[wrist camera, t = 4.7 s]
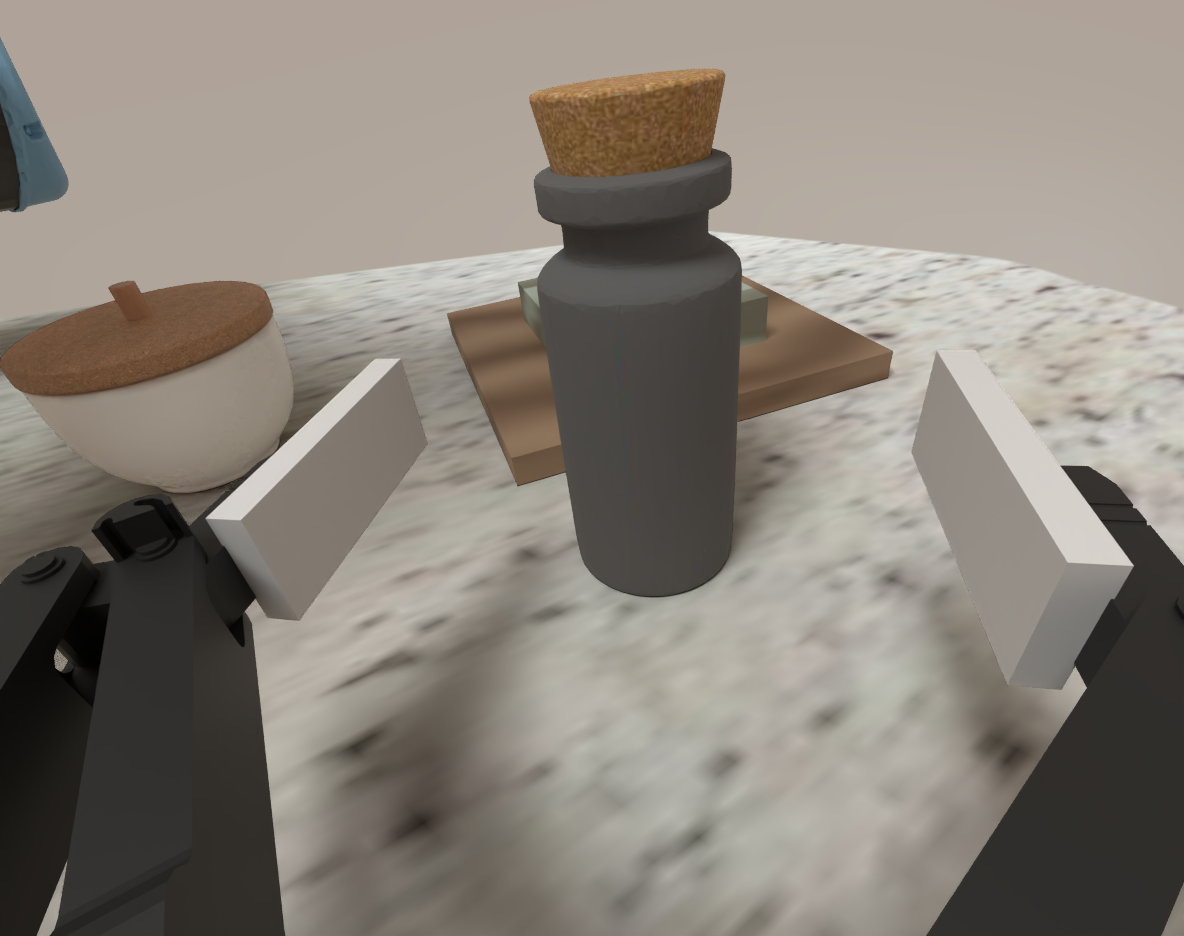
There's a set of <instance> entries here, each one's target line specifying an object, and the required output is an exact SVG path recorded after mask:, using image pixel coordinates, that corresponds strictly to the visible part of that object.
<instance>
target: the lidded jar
mask: <svg viewBox="0 0 1184 936" xmlns="http://www.w3.org/2000/svg"><path fill="white" fill-rule="evenodd" d="M109 290H110V292H111V293H112V295H113V297H114V299H115V301H112V302H108V303H105V304H102V305H99V306H95V307H92V308H89V309H86V310H84V311H81V312H78V313H76V314H73V315H70V316H68V317H65V318H63V319H60V320H58V321H55V322H53V323H51V324H49V325H47V326H45V327H43V328H41V329H39V330H37V331H35V332H33V333H31V334H29V335H27V336H26V337H24V338H23V339H21V340H20V341H18V342H17V343H15V344H14V345H13V346H12V347H10V348H9V349H8V350H7V351H6V352H5V353H4V355H3V356H2V358H1V361H0V368H1V370H2V371H3V373H4V374H5V376H6V377H7V378H8V380H9V381H10V382H11V383H12V385H13V386H14V387H15V388H16V389H18V390H20V391H21V392H23V394H24V395H25V396H26V398H27V399H28V400H29V402H30V403H31V405H32V406H33V407H34V409H35V410H36V411H37V412H38V414H39V415H40V416H41V417H42V419H43V420H44V421H45V422H46V423H47V425H48V426H49V427H50V428H51V429H52V430H53V431H54V432H55V433H56V434H57V435H58V436H59V437H60V438H61V439H62V440H63V441H64V442H65V443H66V444H67V445H68V446H69V447H70V448H72V449H73V450H74V451H75V452H76V453H78V454H79V455H80V456H81V457H83V458H84V459H85V460H87V461H88V462H90V463H92V464H93V465H95V466H97V467H98V468H100V469H102V470H103V471H105V472H107V473H109V474H112V475H114V476H117V477H119V478H122V479H125V480H128V481H132V482H136V483H140V484H145V485H152V486H158V487H159V488H160V489H162V490H163V491H166V492H170V493H193V492H199V491H205V490H208V489H212V488H216V487H219V486H222V485H225V484H227V483H230V482H232V481H235V480H237V479H239V478H241V477H243V476H244V475H245V474H246V473H247V472H248V471H249V470H250V469H251V468H252V467H253V466H254V465H256V464H257V463H258V462H260V461H261V460H263V459H265V458H266V457H268V456H270V455H272V454H273V453H275V452H276V451H277V449H278V447H279V445H280V435H281V434H282V432H283V430H284V428H285V426H286V424H287V422H288V419H289V417H290V415H291V410H292V405H293V399H294V381H293V375H292V368H291V364H290V361H289V357H288V353H287V350H286V346H285V343H284V341H283V338H282V335H281V333H280V330H279V327H278V325H277V323H276V321H275V318H274V316H273V309H272V305H271V303H270V300H269V298H268V295H267V293H266V291H264V290H263V289H262V288H261V287H260V286H258V285H255V284H251V283H247V282H237V281H214V282H203V283H193V284H187V285H181V286H175V287H169V288H164V289H158V290H154V291H150V292H146V293H141V292H140V290H139V288H138V286H137V285H136V283H135V281H126V282H121V283H117V284H114V285H112V286H110V287H109Z"/></svg>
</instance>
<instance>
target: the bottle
mask: <svg viewBox="0 0 1184 936" xmlns="http://www.w3.org/2000/svg"><path fill="white" fill-rule="evenodd" d="M724 81H725V73H724V72H723V71H722V70H717V69H693V70H691V69H690V70H678V71H666V72H655V73H647V74H639V75H630V76H622V77H613V78H605V79H598V80H592V81H586V82H580V83H573V84H568V85H562V86H557V87H552V88H548V89H544V90H539V91H537V92H535V93H533V94H531V95H530V97H529V98H530V104H531V107H532V110H533V114H534V117H535V120H536V123H537V126H538V129H539V132H540V135H541V138H542V141H543V144H544V148H545V151H546V154H547V157H548V160H549V163H550V167H548V168H546V169H544V170H542V171H541V172H540V173H539V174H537V175H536V176H535V179H534V188H535V194H536V200H537V206H538V212H539V213H540V215H541V216H542V218H544V219H546V220H547V221H549V222H552V223H555V224H559V225H561V227H562V232H563V242H564V248H563V249H562V250H560V251H559V252H558V253H557V254H555V255H554V256H553V257H552V258H551V259H550V260H549V261H548V262H547V263H546V264H545V266H544V267H543V269H542V270H541V272H540V274H539V276H538V279H537V292H538V299H539V306H540V314H541V320H542V326H543V333H544V339H545V345H546V352H547V358H548V364H549V371H550V377H551V383H552V390H553V396H554V402H555V408H556V415H557V421H558V427H559V434H560V440H561V446H562V452H563V458H564V463H565V469H566V475H567V481H568V487H569V493H570V499H571V505H572V511H573V517H574V523H575V529H576V535H577V540H578V544H579V549H580V553H581V556H582V559H583V561H584V564H585V565H586V567H587V568H588V570H589V571H590V572H591V573H592V574H593V575H594V576H595V577H596V578H597V579H598V580H600V581H602V582H603V583H605V584H606V585H608V586H609V587H612V588H614V589H617V590H619V591H622V592H626V593H630V594H634V595H639V596H667V595H673V594H678V593H681V592H684V591H688V590H691V589H693V588H695V587H697V586H699V585H701V584H703V583H705V582H706V581H707V580H709V579H710V578H711V577H713V576H714V575H715V574H716V573H717V572H718V571H719V570H720V569H721V568H722V566H723V565H724V563H725V562H726V560H727V557H728V555H729V551H730V547H731V538H732V526H733V506H734V485H735V461H736V436H737V410H738V384H739V358H740V333H741V292H742V268H741V261H740V258H739V257H738V255H737V254H736V252H735V251H734V250H733V249H732V248H731V247H730V246H729V245H727V244H726V243H724V242H723V241H722V240H720V239H718V238H716V237H715V236H712V235H710V234H709V233H708V213H709V209H712V208H714V207H716V206H718V205H720V204H721V203H722V202H724V201H725V200H726V199H727V198H728V196H729V195H730V190H731V178H732V177H731V175H732V167H731V157H730V156H729V155H728V154H727V153H725V152H722V151H719V150H716V149H713V148H712V144H713V139H714V134H715V128H716V123H717V117H718V113H719V107H720V102H721V97H722V91H723V86H724Z"/></svg>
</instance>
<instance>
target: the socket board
mask: <svg viewBox="0 0 1184 936" xmlns="http://www.w3.org/2000/svg"><path fill="white" fill-rule="evenodd" d="M537 279H538V278H535V279H531V280H526V281H521V282H518V286H519V292H520V297H519V298H514V299H510V300H505V301H501V302H496V303H492V304H487V305H483V306H478V307H474V308H469V309H465V310H460V311H456V312H451V313H447V316H448V319H449V323H450V327H451V331H452V335H453V337H454V339H455V341H456V344H457V346H458V348H459V351H460V353H461V355H462V358H463V360H464V362H465V365H466V367H467V369H468V372H469V374H470V376H471V379H472V381H473V383H474V386H475V388H476V390H477V393H478V395H479V397H480V400H481V402H482V404H483V406H484V409H485V411H486V413H487V416H488V418H489V420H490V423H491V425H492V427H493V430H494V432H495V434H496V437H497V439H498V441H499V444H500V446H501V448H502V451H503V453H504V455H505V458H506V460H507V462H508V465H509V467H510V469H511V471H512V474H513V476H514V478H515V481H516V483H517V485H521V484H525V483H528V482H532V481H535V480H539V479H542V478H545V477H549V476H552V475H556V474H559V473H563V472H566V469H565V463H564V458H563V452H562V446H561V440H560V434H559V427H558V421H557V415H556V408H555V402H554V396H553V390H552V383H551V377H550V371H549V364H548V358H547V352H546V345H545V339H544V333H543V326H542V320H541V314H540V306H539V299H538V292H537ZM892 354H893V351H892V350H890V349H888V348H886V347H884V346H882V345H880V344H878V343H876V342H874V341H872V340H870V339H868V338H866V337H864V336H862V335H860V334H858V333H856V332H854V331H852V330H850V329H848V328H846V327H844V326H842V325H840V324H838V323H836V322H834V321H832V320H830V319H828V318H826V317H824V316H822V315H820V314H818V313H816V312H814V311H812V310H810V309H808V308H806V307H804V306H802V305H800V304H798V303H796V302H794V301H792V300H790V299H788V298H786V297H784V296H782V295H780V294H778V293H776V292H774V291H772V290H770V289H768V288H766V287H764V286H762V285H760V284H758V283H756V282H754V281H752V280H750V279H748V278H746V277H744V276H742V292H741V333H740V358H739V384H738V410H737V422H738V421H741V420H744V419H748V418H751V417H755V416H758V415H762V414H765V413H768V412H772V411H775V410H779V409H782V408H786V407H789V406H792V405H796V404H799V403H803V402H806V401H810V400H813V399H817V398H820V397H823V396H827V395H830V394H834V393H837V392H841V391H844V390H847V389H851V388H854V387H858V386H861V385H865V384H868V383H871V382H875V381H878V380H882V379H885V378H888V374H889V369H890V364H891V359H892Z"/></svg>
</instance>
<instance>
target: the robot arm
mask: <svg viewBox="0 0 1184 936" xmlns="http://www.w3.org/2000/svg"><path fill="white" fill-rule="evenodd" d="M67 189H68V178H67V175H66V173H65V170H64V168H63V166H62V164H61V162H60V160H59V158H58V156H57V154H56V152H55V150H54V148H53V146H52V144H51V142H50V140H49V138H48V136H47V134H46V132H45V129H44V127H43V125H42V123H41V121H40V119H39V117H38V115H37V113H36V111H35V109H34V107H33V104H32V102H31V100H30V98H29V96H28V94H27V92H26V90H25V88H24V86H23V84H22V81H21V79H20V77H19V76H18V73H17V71H16V69H15V67H14V65H13V63H12V61H11V59H10V57H9V55H8V53H7V51H6V48H5V46H4V44H3V42H2V40H1V38H0V212H2V211H7V210H9V211H11V212H21V211H24V210H25V209H26V208H27V207H28V206H32V205H36V204H40V203H45V202H50V201H54V200H57V199H59V198H61V197H62V196H63V195H64V194H65V193H66V191H67ZM427 444H428V443H427V440H426V437H425V434H424V431H423V428H422V424H421V421H420V418H419V415H418V412H417V409H416V406H415V402H414V399H413V396H412V393H411V390H410V387H409V383H408V380H407V377H406V374H405V371H404V368H403V365H402V361H401V359H374V360H373V361H372V362H371V363H370V364H369V365H368V366H367V367H366V368H365V369H364V370H363V371H362V372H361V373H360V374H358V375H357V376H356V377H355V378H354V379H353V380H352V381H351V382H350V383H349V384H348V385H347V386H346V387H345V388H344V389H343V390H341V391H340V392H339V393H338V394H337V395H336V396H335V397H334V398H333V399H332V400H331V401H330V402H329V403H328V404H327V405H325V406H324V407H323V408H322V409H321V410H320V411H319V412H318V413H317V414H316V415H315V416H314V417H313V418H312V419H311V420H310V421H308V422H307V423H306V424H305V425H304V426H303V427H302V428H301V429H300V430H299V431H298V432H297V433H296V434H295V435H294V436H293V437H291V438H290V439H289V440H288V441H287V442H286V443H285V444H284V445H283V446H282V447H281V448H280V449H279V450H278V451H277V452H275V453H273V454H272V455H270V456H268V457H266V458H265V459H263V460H261V461H260V462H258V463H257V464H256V465H254V466H253V467H252V468H251V469H250V470H249V471H248V472H247V473H246V474H245V475H244V476H243V477H242V480H238V481H237V482H236V483H235V484H234V485H233V486H232V487H231V488H230V491H226V492H225V493H224V494H223V495H222V496H221V497H220V498H219V499H218V500H217V501H216V502H215V503H213V504H212V505H211V506H210V507H209V508H208V509H207V510H206V511H205V512H204V513H203V514H202V515H200V516H199V517H198V518H197V519H196V520H195V521H194V522H193V523H192V524H191V525H190V526H188V524H187V523H186V521H185V520H184V518H183V517H182V515H181V514H180V512H179V511H178V509H177V507H176V506H175V504H174V503H173V501H172V500H171V498H170V497H168V496H165V495H162V494H159V495H147V496H143V497H139V498H135V499H133V500H130V501H128V502H126V503H123V504H121V505H119V506H117V507H116V508H114V509H112V510H111V511H109V512H107V513H106V514H105V515H104V516H103V517H101V518H100V519H99V520H98V521H97V522H96V523H95V525H94V527H93V529H92V530H91V531H92V532H93V533H94V535H95V536H96V537H97V538H98V540H99V541H100V542H101V543H102V545H103V546H104V547H105V549H106V550H107V551H108V552H109V554H110V555H111V556H112V557H113V559H114V560H113V561H108V562H102V563H97V564H93V563H92V562H91V561H90V560H89V558H88V557H87V556H86V555H85V553H84V552H83V551H82V550H81V549H80V548H78V547H73V546H69V547H61V548H57V549H54V550H50V551H45V552H42V553H40V554H38V555H36V557H35V556H33V557H31V558H30V559H28V560H26V561H25V562H24V563H23V564H22V565H20V566H19V567H17V568H16V569H15V570H13V571H12V572H11V573H10V574H9V575H8V576H7V577H6V578H5V579H4V581H3V582H2V583H1V585H0V936H37V933H38V931H39V928H40V926H41V923H42V921H43V918H44V916H45V913H46V911H47V909H48V906H49V904H50V901H51V899H52V896H53V894H54V891H55V889H56V886H57V884H58V881H59V879H60V877H61V874H62V872H63V869H64V867H65V864H66V862H67V867H66V873H65V879H64V885H63V891H62V897H61V903H60V909H59V915H58V920H57V923H56V926H55V929H54V931H53V932H52V934H51V935H50V936H285V931H284V923H283V913H282V904H281V894H280V885H279V876H278V866H277V857H276V847H275V838H274V828H273V819H272V809H271V800H270V791H269V781H268V772H267V762H266V753H265V743H264V734H263V725H262V715H261V706H260V696H259V687H258V677H257V668H256V658H255V649H254V640H253V630H252V623H251V621H250V619H249V617H248V616H247V614H246V613H245V610H246V609H247V608H248V607H249V605H250V604H251V603H252V602H253V601H254V599H255V598H256V600H257V602H258V603H259V605H260V606H261V608H262V609H263V611H264V613H265V614H266V616H267V617H268V618H275V619H286V620H298V621H300V619H301V618H302V616H303V615H304V614H305V612H306V611H307V609H308V608H309V607H310V605H311V604H312V603H313V601H314V600H315V598H316V597H317V596H318V594H319V593H320V592H321V590H322V589H323V587H324V586H325V585H326V583H327V582H328V581H329V579H330V578H331V576H332V575H333V574H334V572H335V571H336V570H337V568H338V567H339V565H340V564H341V563H342V561H343V560H344V558H345V557H346V556H347V554H348V553H349V552H350V550H351V549H352V547H353V546H354V545H355V543H356V542H357V541H358V539H359V538H360V536H361V535H362V534H363V532H364V531H365V530H366V528H367V527H368V525H369V524H370V523H371V521H372V520H373V518H374V517H375V516H376V514H377V513H378V512H379V510H380V509H381V507H382V506H383V505H384V503H385V502H386V501H387V499H388V498H389V496H390V495H391V494H392V492H393V491H394V490H395V488H396V487H397V485H398V484H399V483H400V481H401V480H402V479H403V477H404V476H405V474H406V473H407V472H408V470H409V469H410V467H411V466H412V465H413V463H414V462H415V461H416V459H417V458H418V456H419V455H420V454H421V452H422V451H423V450H424V448H425V447H426V445H427ZM912 455H913V457H914V460H915V462H916V465H917V467H918V469H919V472H920V474H921V477H922V479H923V482H924V484H925V486H926V489H927V491H928V494H929V496H930V499H931V501H932V503H933V506H934V508H935V511H936V513H937V516H938V518H939V520H940V523H941V525H942V528H943V530H944V532H945V535H946V537H947V540H948V542H949V545H950V547H951V549H952V552H953V554H954V557H955V559H956V562H957V564H958V566H959V569H960V571H961V574H962V576H963V579H964V581H965V583H966V586H967V588H968V591H969V593H970V596H971V598H972V600H973V603H974V605H975V608H976V610H977V612H978V615H979V617H980V620H981V622H982V625H983V627H984V629H985V632H986V634H987V637H988V639H989V642H990V644H991V646H992V649H993V651H994V654H995V656H996V659H997V661H998V663H999V666H1000V668H1001V671H1002V673H1003V676H1004V678H1005V680H1006V683H1007V685H1014V686H1025V687H1036V688H1047V689H1058V690H1062V688H1063V686H1064V685H1065V683H1066V681H1067V679H1068V678H1069V676H1070V674H1071V673H1072V671H1073V669H1074V668H1075V666H1076V668H1077V670H1078V672H1079V674H1080V675H1081V677H1082V679H1083V681H1084V683H1085V685H1086V687H1087V689H1086V690H1085V692H1084V693H1083V695H1082V696H1081V698H1080V700H1079V701H1078V703H1077V704H1076V706H1075V707H1074V709H1073V710H1072V712H1071V713H1070V715H1069V717H1068V718H1067V720H1066V721H1065V723H1064V724H1063V726H1062V727H1061V729H1060V730H1059V732H1058V733H1057V735H1056V737H1055V738H1054V740H1053V741H1052V743H1051V744H1050V746H1049V747H1048V749H1047V750H1046V752H1045V754H1044V755H1043V757H1042V758H1041V760H1040V761H1039V763H1038V764H1037V766H1036V767H1035V769H1034V770H1033V772H1032V774H1031V775H1030V777H1029V778H1028V780H1027V781H1026V783H1025V784H1024V786H1023V787H1022V789H1021V791H1020V792H1019V794H1018V795H1017V797H1016V798H1015V800H1014V801H1013V803H1012V804H1011V806H1010V807H1009V809H1008V811H1007V812H1006V814H1005V815H1004V817H1003V818H1002V820H1001V821H1000V823H999V824H998V826H997V828H996V829H995V831H994V832H993V834H992V835H991V837H990V838H989V840H988V841H987V843H986V845H985V846H984V848H983V849H982V851H981V852H980V854H979V855H978V857H977V858H976V860H975V861H974V863H973V865H972V866H971V868H970V869H969V871H968V872H967V874H966V875H965V877H964V878H963V880H962V882H961V883H960V885H959V886H958V888H957V889H956V891H955V892H954V894H953V895H952V897H951V898H950V900H949V902H948V903H947V905H946V906H945V908H944V909H943V911H942V912H941V914H940V915H939V917H938V919H937V920H936V922H935V923H934V925H933V926H932V928H931V929H930V931H929V932H928V934H927V935H926V936H1161V935H1162V933H1163V930H1164V928H1165V926H1166V923H1167V921H1168V918H1169V916H1170V914H1171V911H1172V909H1173V907H1174V904H1175V902H1176V899H1177V897H1178V895H1179V892H1180V890H1181V887H1182V885H1183V883H1184V565H1183V564H1182V563H1181V562H1180V561H1179V559H1178V558H1177V557H1176V556H1175V554H1174V553H1173V552H1172V551H1171V550H1170V548H1169V547H1168V546H1167V545H1166V544H1165V542H1164V541H1163V540H1162V539H1161V538H1160V536H1159V535H1158V534H1157V533H1156V532H1155V530H1154V529H1153V528H1152V527H1151V525H1147V521H1146V519H1145V518H1144V517H1143V516H1142V515H1141V513H1140V512H1139V511H1138V510H1137V509H1136V508H1133V504H1132V502H1131V501H1130V500H1129V499H1128V498H1127V496H1126V495H1125V494H1124V493H1123V492H1122V490H1121V489H1120V488H1119V487H1118V486H1117V484H1115V483H1114V482H1112V481H1111V480H1109V479H1108V478H1106V477H1104V476H1103V475H1101V474H1100V473H1098V472H1097V471H1095V470H1093V469H1092V468H1090V467H1089V466H1060V465H1059V463H1058V462H1057V461H1056V459H1055V458H1054V457H1053V455H1052V454H1051V453H1050V451H1049V450H1048V448H1047V447H1046V446H1045V444H1044V443H1043V442H1042V440H1041V439H1040V438H1039V436H1038V435H1037V433H1036V432H1035V431H1034V429H1033V428H1032V427H1031V425H1030V424H1029V423H1028V421H1027V420H1026V419H1025V417H1024V416H1023V414H1022V413H1021V412H1020V410H1019V409H1018V408H1017V406H1016V405H1015V404H1014V402H1013V401H1012V399H1011V398H1010V397H1009V395H1008V394H1007V393H1006V391H1005V390H1004V389H1003V387H1002V386H1001V385H1000V383H999V382H998V380H997V379H996V378H995V376H994V375H993V374H992V372H991V371H990V370H989V368H988V367H987V365H986V364H985V363H984V361H983V360H982V359H981V357H980V356H979V355H978V353H977V352H976V350H937V351H936V355H935V359H934V363H933V367H932V371H931V375H930V379H929V383H928V388H927V392H926V396H925V400H924V404H923V408H922V412H921V416H920V420H919V424H918V428H917V432H916V436H915V440H914V444H913V448H912ZM56 648H57V649H58V650H59V651H60V652H61V653H62V654H63V656H64V657H65V658H66V659H67V660H68V662H67V664H66V666H65V667H64V669H63V670H62V672H60V671H58V670H57V669H56V668H55V662H54V655H55V652H56ZM67 859H68V861H67Z"/></svg>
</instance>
